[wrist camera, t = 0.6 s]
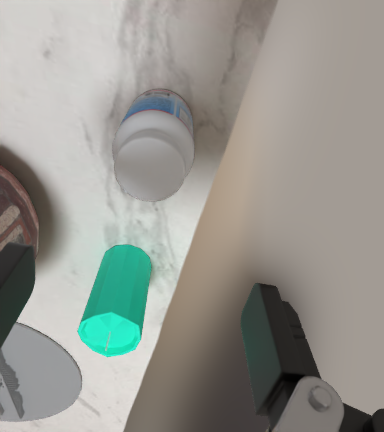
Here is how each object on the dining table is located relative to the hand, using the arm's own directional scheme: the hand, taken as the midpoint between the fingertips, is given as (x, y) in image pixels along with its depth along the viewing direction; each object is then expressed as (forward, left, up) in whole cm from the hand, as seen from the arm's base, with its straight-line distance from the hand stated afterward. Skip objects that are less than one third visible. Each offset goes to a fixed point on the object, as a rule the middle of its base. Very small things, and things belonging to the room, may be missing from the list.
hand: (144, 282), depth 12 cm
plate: (+46, -20, -22) cm, 54 cm away
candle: (+19, -2, -22) cm, 29 cm away
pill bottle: (+1, -1, -22) cm, 22 cm away
